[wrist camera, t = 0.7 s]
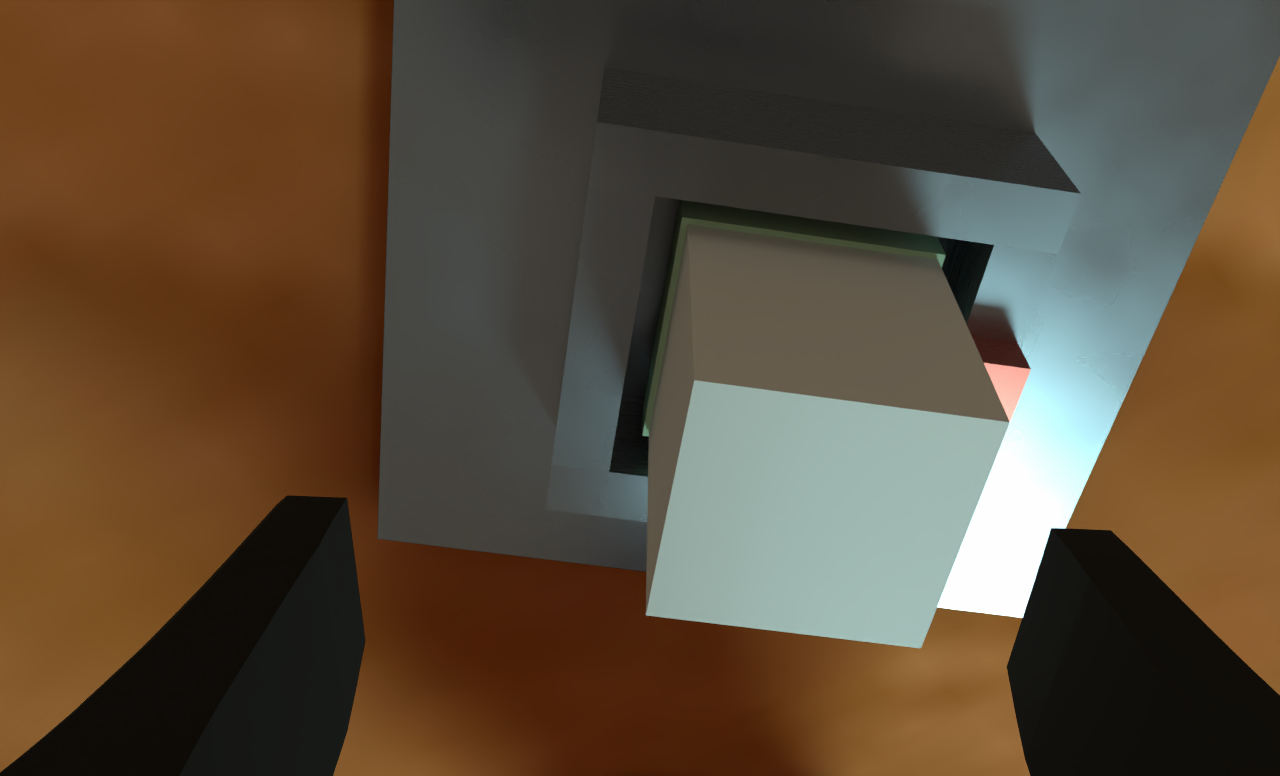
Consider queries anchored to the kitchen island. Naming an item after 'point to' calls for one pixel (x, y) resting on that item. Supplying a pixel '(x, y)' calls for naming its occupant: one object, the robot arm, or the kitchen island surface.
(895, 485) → the pale grey block
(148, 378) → the kitchen island surface
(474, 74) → the stand base
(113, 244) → the kitchen island surface
